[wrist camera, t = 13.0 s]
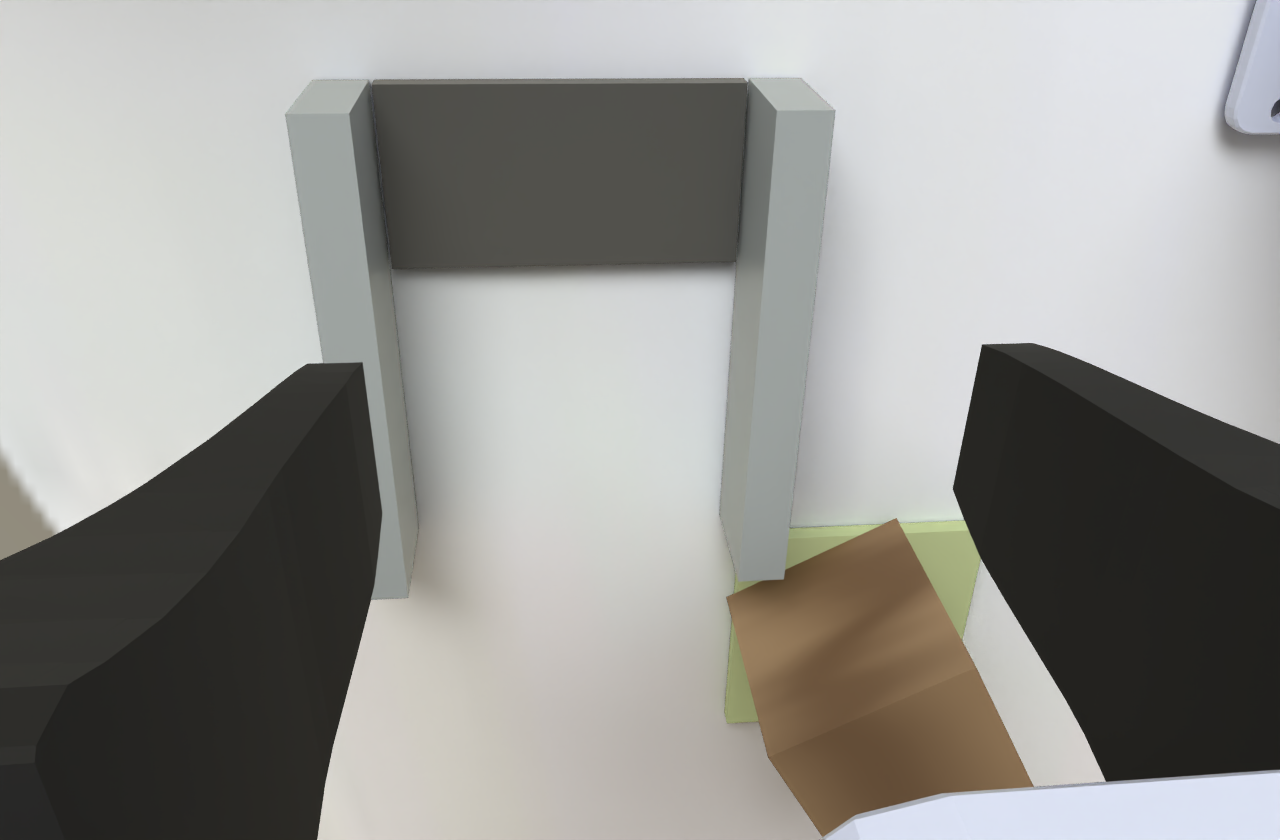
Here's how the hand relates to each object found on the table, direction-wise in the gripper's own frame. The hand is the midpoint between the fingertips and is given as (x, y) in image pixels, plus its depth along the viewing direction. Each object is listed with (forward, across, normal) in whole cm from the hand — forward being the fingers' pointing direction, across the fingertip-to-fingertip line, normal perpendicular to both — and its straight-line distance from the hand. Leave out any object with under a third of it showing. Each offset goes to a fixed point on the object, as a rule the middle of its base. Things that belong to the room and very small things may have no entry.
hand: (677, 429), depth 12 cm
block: (+9, -6, +11) cm, 15 cm away
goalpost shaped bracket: (+9, +1, +3) cm, 10 cm away
